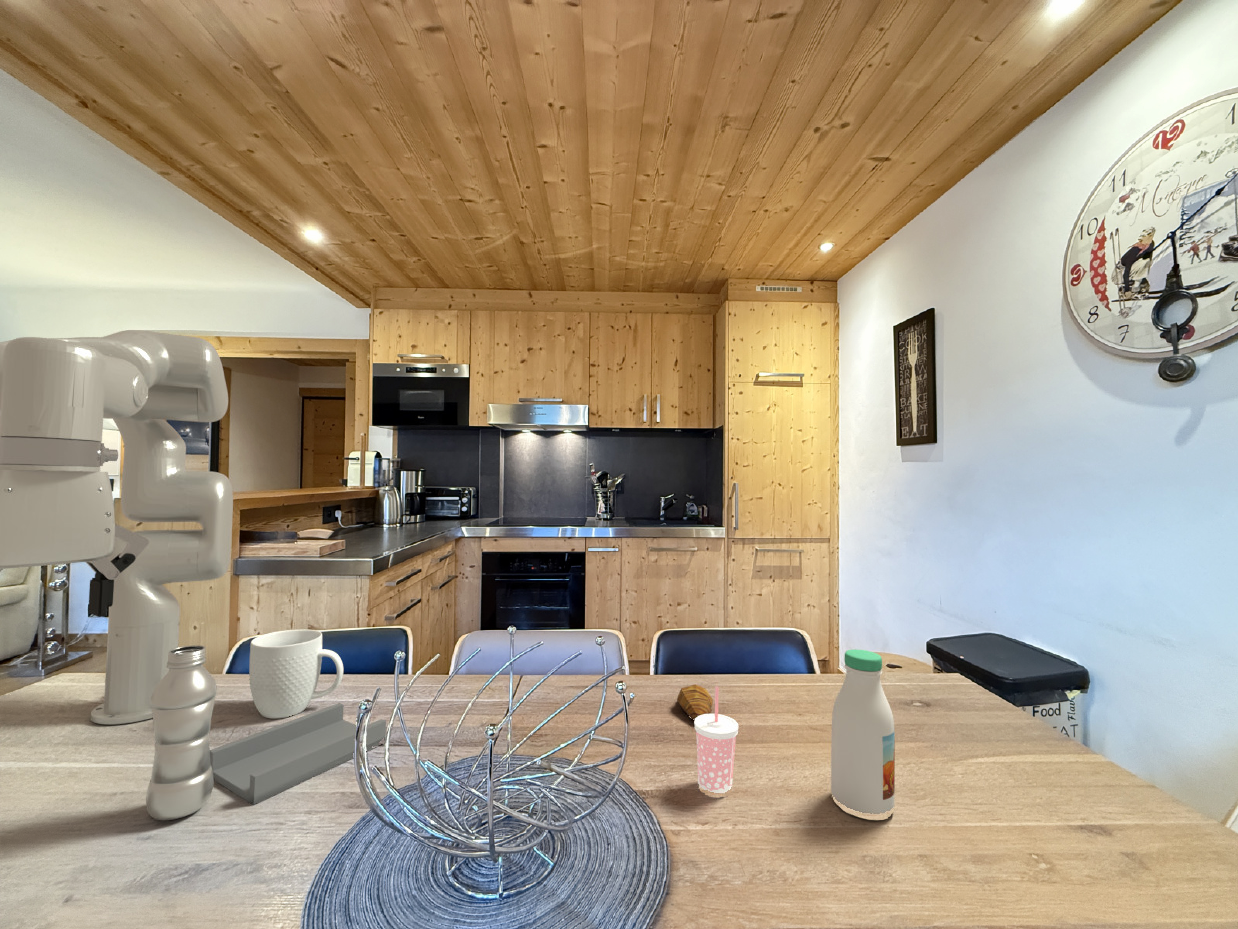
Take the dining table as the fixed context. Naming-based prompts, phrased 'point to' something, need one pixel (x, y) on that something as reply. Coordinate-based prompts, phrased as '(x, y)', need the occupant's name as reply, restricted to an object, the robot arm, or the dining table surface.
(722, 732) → the beverage cup
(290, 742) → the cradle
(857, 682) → the milk bottle
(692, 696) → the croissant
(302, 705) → the mug
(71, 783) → the dining table surface
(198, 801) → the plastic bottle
